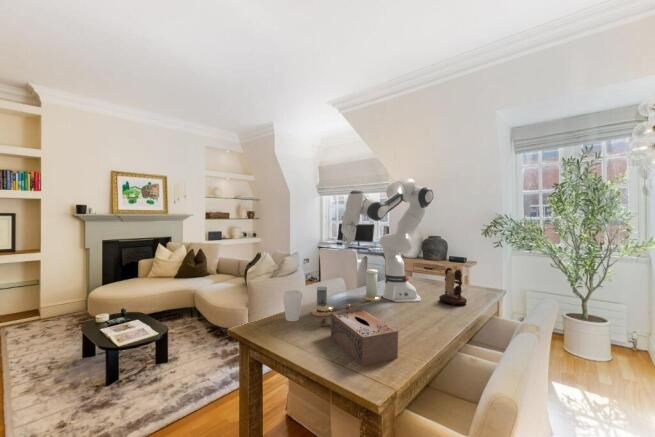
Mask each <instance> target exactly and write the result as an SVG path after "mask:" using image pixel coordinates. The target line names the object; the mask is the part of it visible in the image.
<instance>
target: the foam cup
mask: <svg viewBox="0 0 655 437" xmlns="http://www.w3.org/2000/svg"><path fill="white" fill-rule="evenodd" d="M282 299H283V305H284V314H285V315H284V316H285V319H286V322H298V321H299V320H300V313H301V307H302V301H303V300H302V299H303V291H302V290H299V289H287V290H283V292H282Z"/></svg>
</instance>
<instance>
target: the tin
mask: <svg viewBox="0 0 655 437" xmlns="http://www.w3.org/2000/svg"><path fill="white" fill-rule="evenodd" d="M327 289H328V288H327V286H321V285H320V286H317V287H316V307H317V306H318V305H320V304H327V298H328V297H327V294H328V290H327ZM317 312H320V313H324V311H319V310H317Z"/></svg>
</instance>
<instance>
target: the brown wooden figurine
mask: <svg viewBox="0 0 655 437" xmlns="http://www.w3.org/2000/svg"><path fill="white" fill-rule="evenodd" d="M444 273H445V274H444V275H445V278H444V281H445V285H444V293H443V294H440V295H439V297H438V298H439V301H440V302H441V301H442V302H444V303H449V304H452V306H453V307H454V306H455V305H463V304H465V305H466V304H467V303H468V302H467V300H468V299H467V298H466V297H464V296H462V295H461V294H462V292H463V291H462V285H463V281H462V278H463V274H462V271H461V269H456V270H455V271H453V269H452V268H451V267H447V268H446V269H445V270H444ZM455 284H457V285H456V286H455Z"/></svg>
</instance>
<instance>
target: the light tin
mask: <svg viewBox="0 0 655 437" xmlns="http://www.w3.org/2000/svg"><path fill="white" fill-rule="evenodd" d="M378 273H379V271H378V269H374V268H371V269H370V268H369V269H368V268H367V269H366V271H365V274H366V276H365V277H366V278H365V279H366V281H365V283H366V285H365V291H366V292H365V295H366V297H368V298H377V295H378V275H379V274H378Z"/></svg>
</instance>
